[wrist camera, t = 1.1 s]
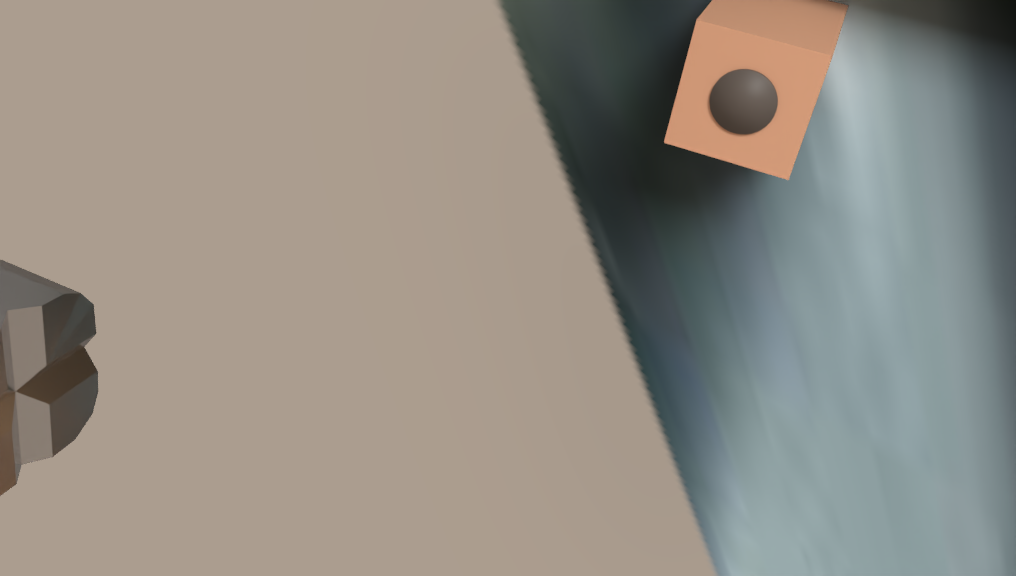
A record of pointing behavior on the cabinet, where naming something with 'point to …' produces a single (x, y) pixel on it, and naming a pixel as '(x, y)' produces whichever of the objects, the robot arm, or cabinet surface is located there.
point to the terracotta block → (754, 80)
